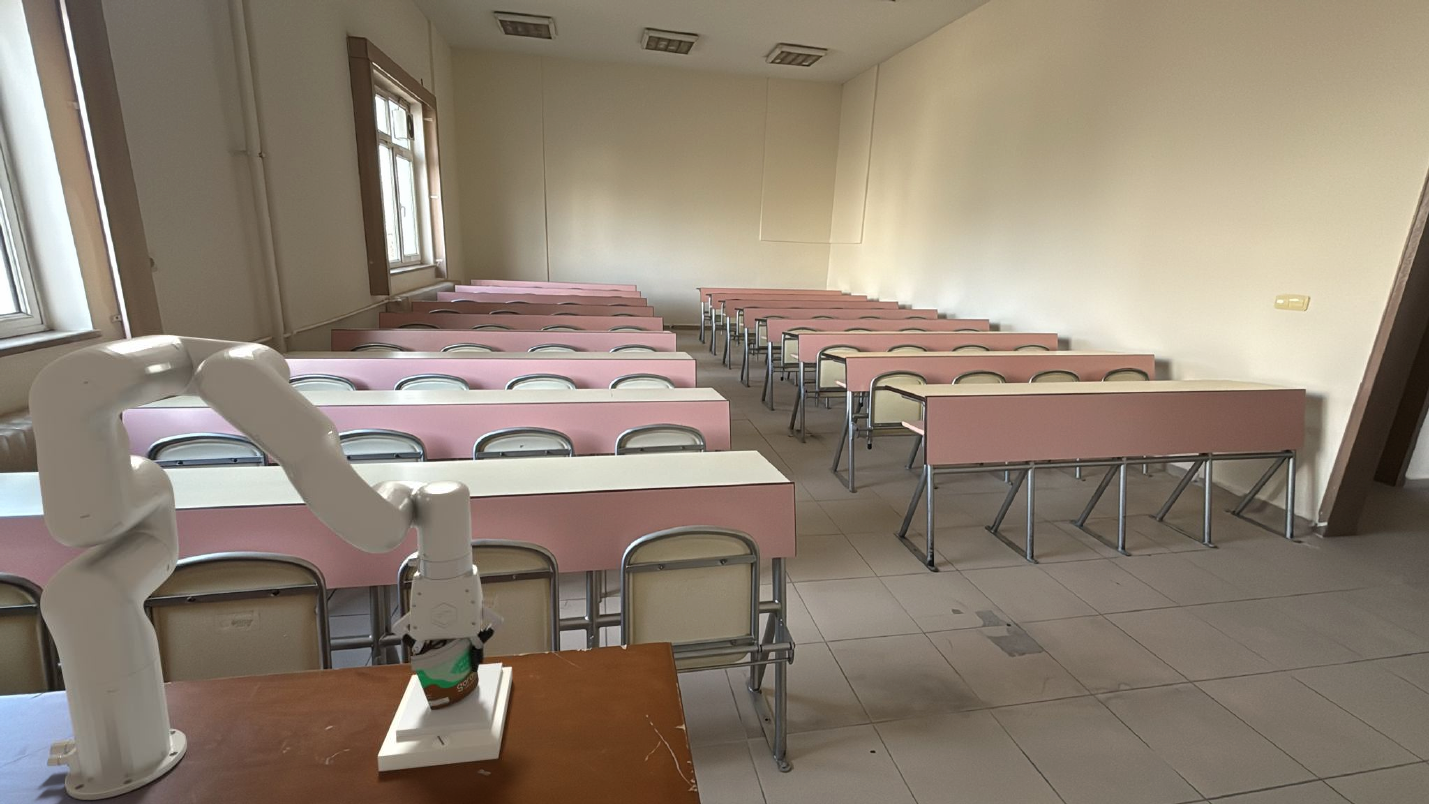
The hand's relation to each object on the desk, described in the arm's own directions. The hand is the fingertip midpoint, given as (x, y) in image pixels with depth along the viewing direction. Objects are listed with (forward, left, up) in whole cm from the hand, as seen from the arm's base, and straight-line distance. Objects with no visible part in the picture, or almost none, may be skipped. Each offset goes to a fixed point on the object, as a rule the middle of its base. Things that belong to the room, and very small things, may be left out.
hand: (450, 668), depth 101 cm
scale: (0, -1, -8) cm, 8 cm away
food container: (+2, 0, -4) cm, 4 cm away
